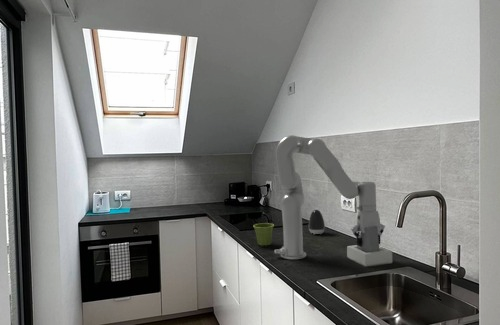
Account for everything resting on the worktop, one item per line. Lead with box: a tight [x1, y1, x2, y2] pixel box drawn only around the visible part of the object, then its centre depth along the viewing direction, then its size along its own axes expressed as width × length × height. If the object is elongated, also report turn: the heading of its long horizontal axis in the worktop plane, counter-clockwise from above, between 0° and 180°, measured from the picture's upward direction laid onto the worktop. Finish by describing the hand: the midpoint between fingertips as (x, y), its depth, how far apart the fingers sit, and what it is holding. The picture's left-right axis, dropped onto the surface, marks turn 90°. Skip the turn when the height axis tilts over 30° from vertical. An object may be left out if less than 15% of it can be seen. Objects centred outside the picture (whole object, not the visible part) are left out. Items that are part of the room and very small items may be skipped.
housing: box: [346, 244, 393, 268], centre depth 164 cm, size 14×15×6 cm
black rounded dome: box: [308, 209, 326, 235], centre depth 221 cm, size 10×10×15 cm
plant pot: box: [253, 222, 275, 246], centre depth 198 cm, size 12×12×11 cm
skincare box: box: [355, 226, 380, 253], centre depth 164 cm, size 8×7×16 cm
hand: (368, 244), depth 164 cm, fingers open, 9 cm apart
